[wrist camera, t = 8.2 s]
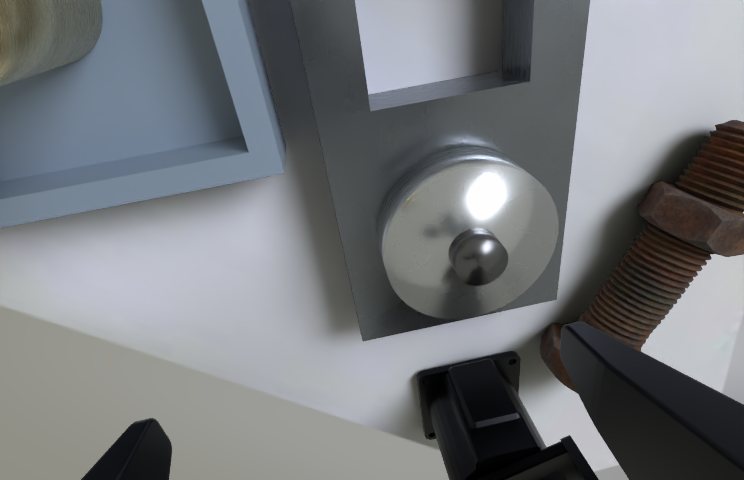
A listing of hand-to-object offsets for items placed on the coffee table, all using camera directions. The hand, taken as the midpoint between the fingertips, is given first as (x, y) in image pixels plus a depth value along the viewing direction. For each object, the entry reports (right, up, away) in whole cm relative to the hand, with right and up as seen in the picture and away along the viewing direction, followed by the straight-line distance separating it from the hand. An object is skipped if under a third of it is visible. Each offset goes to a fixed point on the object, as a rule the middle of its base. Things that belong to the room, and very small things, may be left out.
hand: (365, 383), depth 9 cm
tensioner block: (+3, +8, +9) cm, 13 cm away
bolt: (+15, +3, +15) cm, 21 cm away
